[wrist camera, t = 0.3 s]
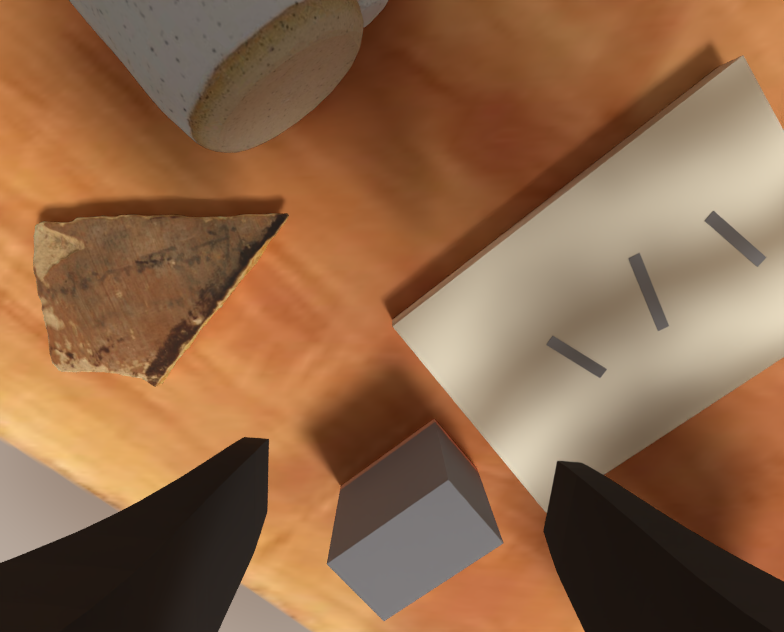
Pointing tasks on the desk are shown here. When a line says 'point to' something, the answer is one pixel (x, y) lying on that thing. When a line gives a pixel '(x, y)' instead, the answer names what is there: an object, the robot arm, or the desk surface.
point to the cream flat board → (622, 291)
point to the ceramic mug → (233, 59)
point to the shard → (139, 285)
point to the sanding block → (411, 522)
